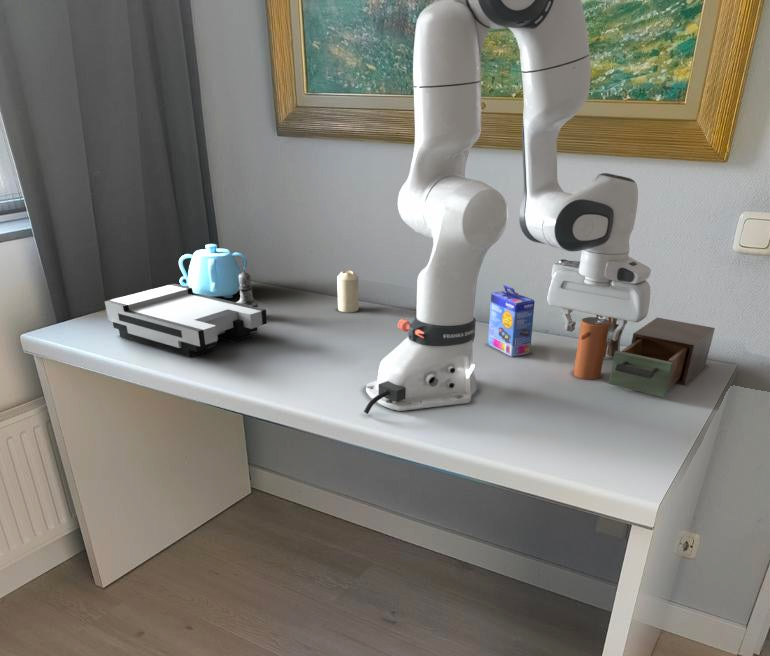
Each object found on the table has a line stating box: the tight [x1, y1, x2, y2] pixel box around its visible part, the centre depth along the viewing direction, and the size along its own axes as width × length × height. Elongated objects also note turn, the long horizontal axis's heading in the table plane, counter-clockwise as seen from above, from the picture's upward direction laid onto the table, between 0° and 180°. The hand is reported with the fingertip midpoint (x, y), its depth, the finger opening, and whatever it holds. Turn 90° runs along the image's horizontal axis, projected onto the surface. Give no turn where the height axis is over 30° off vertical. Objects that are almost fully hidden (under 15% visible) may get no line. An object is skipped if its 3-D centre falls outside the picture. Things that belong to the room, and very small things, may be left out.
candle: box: [336, 269, 360, 313], centre depth 189 cm, size 6×6×10 cm
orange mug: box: [573, 316, 610, 381], centre depth 146 cm, size 9×6×12 cm, turn 143°
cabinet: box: [630, 317, 716, 386], centre depth 152 cm, size 14×12×8 cm
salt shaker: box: [236, 269, 259, 308], centre depth 182 cm, size 6×6×12 cm
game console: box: [104, 283, 268, 358], centre depth 169 cm, size 21×32×8 cm, turn 54°
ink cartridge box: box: [487, 284, 536, 358], centre depth 161 cm, size 10×6×14 cm, turn 28°
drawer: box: [608, 338, 690, 398], centre depth 142 cm, size 18×11×7 cm, turn 143°
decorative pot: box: [178, 243, 248, 299], centre depth 200 cm, size 16×16×14 cm
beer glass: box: [595, 315, 626, 360], centre depth 158 cm, size 7×7×15 cm
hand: (590, 335), depth 146 cm, fingers open, 8 cm apart
